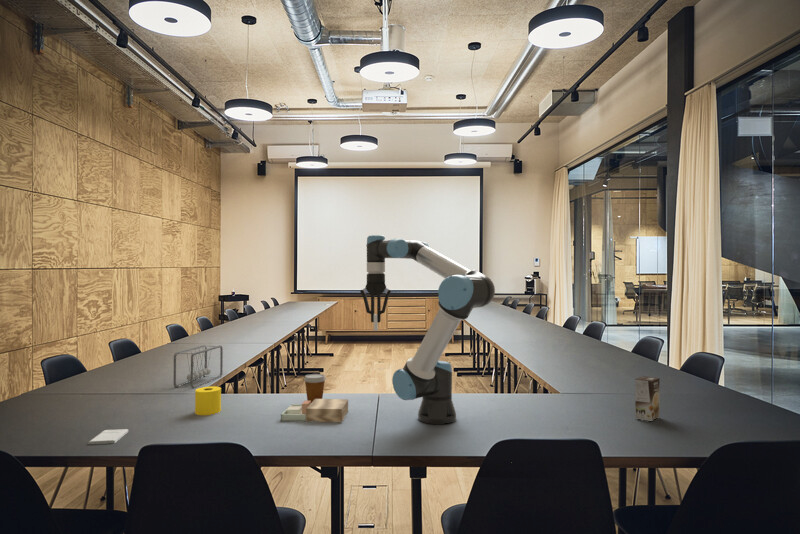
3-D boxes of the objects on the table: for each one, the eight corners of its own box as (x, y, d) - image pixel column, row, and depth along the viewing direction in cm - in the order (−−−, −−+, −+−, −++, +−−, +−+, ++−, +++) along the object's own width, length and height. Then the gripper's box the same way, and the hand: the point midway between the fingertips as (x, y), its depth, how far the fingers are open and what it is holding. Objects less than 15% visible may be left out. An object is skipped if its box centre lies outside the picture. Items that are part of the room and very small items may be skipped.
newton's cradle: (192, 389, 246) (192, 353, 246) (172, 388, 248) (173, 352, 248) (222, 376, 276) (223, 344, 276) (205, 376, 277) (205, 344, 278)
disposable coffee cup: (321, 406, 215) (321, 378, 215) (300, 405, 217) (300, 377, 217) (328, 400, 224) (328, 374, 224) (308, 399, 226) (308, 373, 226)
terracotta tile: (311, 400, 203) (304, 400, 203) (308, 403, 198) (301, 403, 198) (310, 412, 203) (304, 412, 203) (308, 416, 198) (301, 416, 198)
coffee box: (651, 422, 192) (651, 381, 192) (634, 419, 197) (634, 378, 197) (660, 417, 198) (659, 377, 199) (643, 414, 203) (643, 375, 203)
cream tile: (289, 406, 203) (289, 412, 203) (286, 409, 198) (286, 415, 198) (301, 406, 203) (301, 412, 203) (299, 409, 198) (299, 415, 198)
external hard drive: (88, 446, 167) (104, 434, 179) (114, 444, 168) (128, 433, 180) (88, 441, 167) (104, 429, 179) (114, 440, 168) (128, 428, 180)
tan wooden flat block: (348, 411, 207) (348, 399, 207) (341, 422, 192) (341, 409, 192) (315, 410, 208) (315, 398, 208) (306, 421, 193) (306, 408, 193)
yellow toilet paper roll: (225, 411, 206) (225, 389, 206) (201, 416, 199) (202, 393, 199) (213, 407, 213) (214, 385, 213) (190, 412, 205) (191, 389, 206)
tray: (314, 410, 208) (314, 404, 208) (305, 421, 193) (305, 414, 193) (291, 410, 208) (291, 404, 208) (280, 420, 193) (280, 414, 193)
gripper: (392, 273, 207) (392, 329, 206) (361, 273, 207) (361, 329, 207) (391, 273, 199) (390, 331, 199) (358, 273, 200) (358, 331, 200)
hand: (375, 330), depth 203 cm, fingers closed
